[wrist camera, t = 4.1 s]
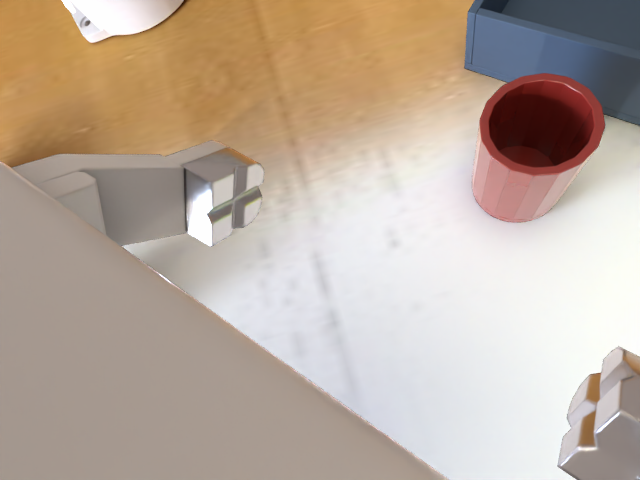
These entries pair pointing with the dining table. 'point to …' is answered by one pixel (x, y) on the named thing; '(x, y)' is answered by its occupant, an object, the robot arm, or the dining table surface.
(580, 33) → the tote
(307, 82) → the dining table surface
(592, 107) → the canister
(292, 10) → the dining table surface
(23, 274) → the robot arm
